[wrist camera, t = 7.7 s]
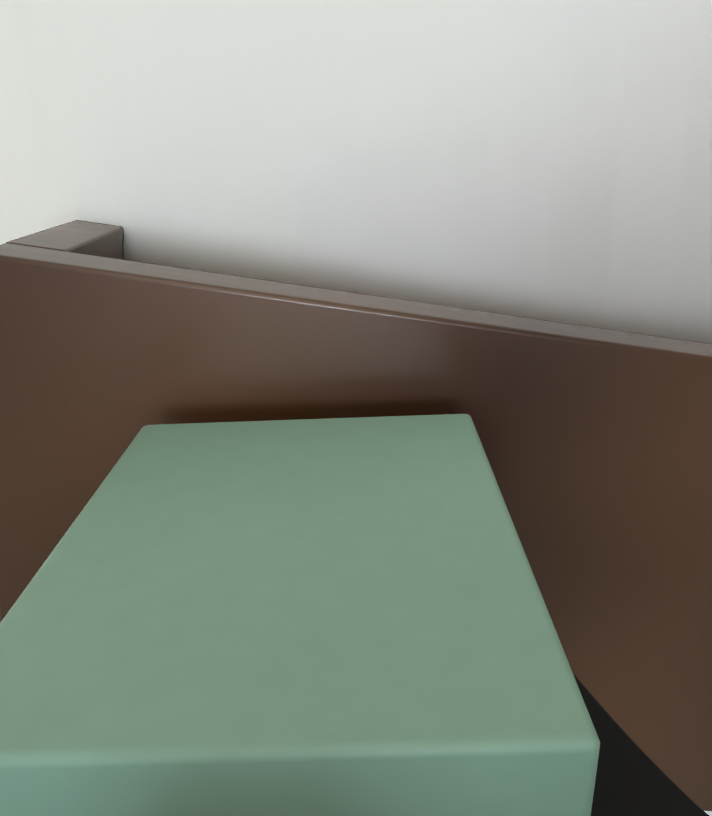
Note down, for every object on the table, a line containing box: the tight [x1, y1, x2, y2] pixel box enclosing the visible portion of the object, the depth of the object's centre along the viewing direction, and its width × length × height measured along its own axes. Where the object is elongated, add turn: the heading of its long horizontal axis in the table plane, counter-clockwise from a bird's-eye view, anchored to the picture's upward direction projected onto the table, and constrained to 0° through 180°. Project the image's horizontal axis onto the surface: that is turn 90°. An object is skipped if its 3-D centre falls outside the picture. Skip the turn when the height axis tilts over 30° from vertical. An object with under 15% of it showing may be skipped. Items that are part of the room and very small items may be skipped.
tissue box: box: [0, 414, 600, 816], centre depth 9 cm, size 5×7×6 cm
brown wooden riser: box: [0, 220, 712, 811], centre depth 14 cm, size 16×10×4 cm, turn 82°
